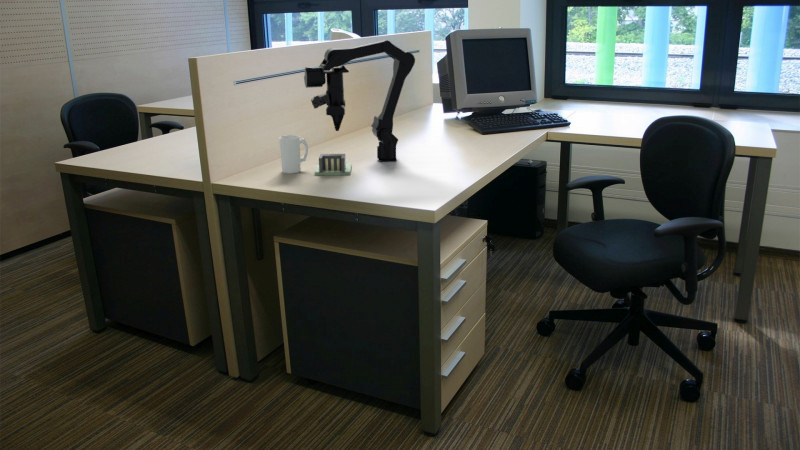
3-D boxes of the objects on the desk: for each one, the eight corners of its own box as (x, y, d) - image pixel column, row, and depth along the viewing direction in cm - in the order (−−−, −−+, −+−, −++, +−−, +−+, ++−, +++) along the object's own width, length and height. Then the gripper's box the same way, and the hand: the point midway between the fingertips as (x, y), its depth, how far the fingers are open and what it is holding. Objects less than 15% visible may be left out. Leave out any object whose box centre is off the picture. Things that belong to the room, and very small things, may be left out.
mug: (286, 174, 223) (284, 140, 219) (278, 170, 228) (276, 136, 224) (313, 170, 228) (311, 136, 224) (304, 166, 234) (302, 132, 229)
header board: (351, 165, 235) (351, 151, 233) (350, 174, 223) (349, 160, 222) (317, 165, 234) (316, 152, 232) (314, 175, 223) (314, 160, 221)
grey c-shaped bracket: (320, 168, 227) (320, 153, 226) (345, 167, 228) (345, 153, 226) (319, 172, 222) (318, 158, 220) (344, 172, 222) (344, 158, 220)
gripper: (313, 82, 236) (315, 125, 242) (310, 90, 219) (312, 137, 224) (344, 82, 237) (346, 125, 242) (343, 90, 220) (345, 136, 225)
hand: (337, 130), depth 233 cm, fingers closed
